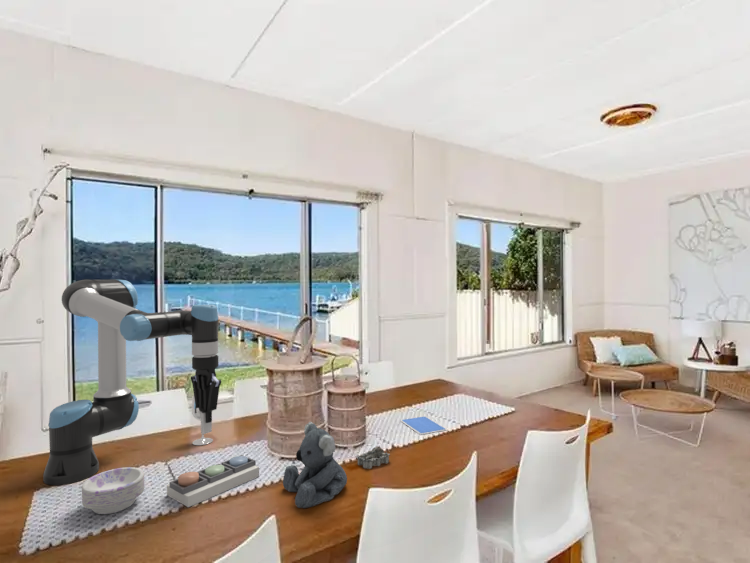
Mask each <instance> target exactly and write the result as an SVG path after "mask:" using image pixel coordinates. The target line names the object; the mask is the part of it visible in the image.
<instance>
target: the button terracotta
mask: <svg viewBox="0 0 750 563" xmlns="http://www.w3.org/2000/svg"><path fill="white" fill-rule="evenodd" d="M177 479H178V485H179V486H190V485H193V484H195V483H197V482H198V481H199V473H198V471H187V472H183V473H181V474H179V475H178V476H177Z"/></svg>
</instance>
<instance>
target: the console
mask: <svg viewBox="0 0 750 563" xmlns="http://www.w3.org/2000/svg"><path fill="white" fill-rule="evenodd" d="M240 456H244V455H242V454H241V455H240ZM246 457H247V458H248V463H246V464H243V465H240V466H238V467H234V466H231V465H230V463H229V460H230V459H228V460H224V461H222V462H221V463H217V464H216V465H223V466H224V472H223V473H220V474H218V475H215V476H213V477H210V476H208V475H205V469H206V468H204V469H201V470H198V471H197V472H198V473H199V481H198V482H197V483H195V484H193V485H190V486H179V485H178V478H177V479H174V480H172V481H170V482H169V483H168V484H167V485H166V495H167V496H168V497H170V498H171V499H173V500H175V501H177V502H179V503H180V504H181V505H183V506H185V507H187V508H190V507H192V506H194V505H197V504H199V503H201V502H204V501H205V500H206V501H207V500H208V499H210V498H212V497H215V496H217V495H219V494H222V493H225V492H226V491H228V490H231V489H233V488H235V487H237V486H240V485H242V484H245V483H247V482H249V481H252V480H254V479H257V478H259V477H260V466H258V465H256V464H257V462H256V460H255V459H253V458H250V457H248V456H246Z"/></svg>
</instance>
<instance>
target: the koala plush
mask: <svg viewBox="0 0 750 563" xmlns="http://www.w3.org/2000/svg"><path fill="white" fill-rule="evenodd" d="M303 431H304V433H303V434H304V437H303V439H302V441H301V444H300V446H299V448H298V450H297V451H296V454H295V459H297V461H299V462H301V463H302V464H303V465H304V467H303V468H302V469H301V471H300V473H299V469H298V467H297V466H296V465H295V464H291V465H287V466H285V469H284V473H283V479H282V486H283V488H284V489H285V491H287V492H288V493H296V496H295V498H294V504H295V506H296V507H297V508H298V509H306V508H312V507H314V506H318V505H319V504H322V503H323V502H330V501H331V500H333V499H334V498H335V496H337V495H338V494H339V493H340V492H342V491H343V489H344V488H345V487H346V485H347V482H348V477H347V474H346V471H345V469H344V468H343V466H341V465H340V463H339V462H337V461H336V459H334V453H335V451H336V443H335V439H334V436H332V435H330V434H329V432H327V431H326V430H325V429H323V428H318V426H317V425H316V424H315V423H313V422H312V421H309V422H308V423H306V424H305V425H304V429H303Z"/></svg>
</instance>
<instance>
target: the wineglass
mask: <svg viewBox="0 0 750 563" xmlns="http://www.w3.org/2000/svg"><path fill="white" fill-rule="evenodd" d="M190 410H191V415H192V417H193V418H194V419H195V420H197V421H200V422H201V417H200V411H199V408H196V405H195V398H194V395H193V396H192V403H191V409H190ZM213 441H214V439H213V438H211V437H205V434H202V433H201V437H200V438H197V439H195V440H193V441H192V445H193V446H205V445H208V444H211V443H213Z"/></svg>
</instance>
